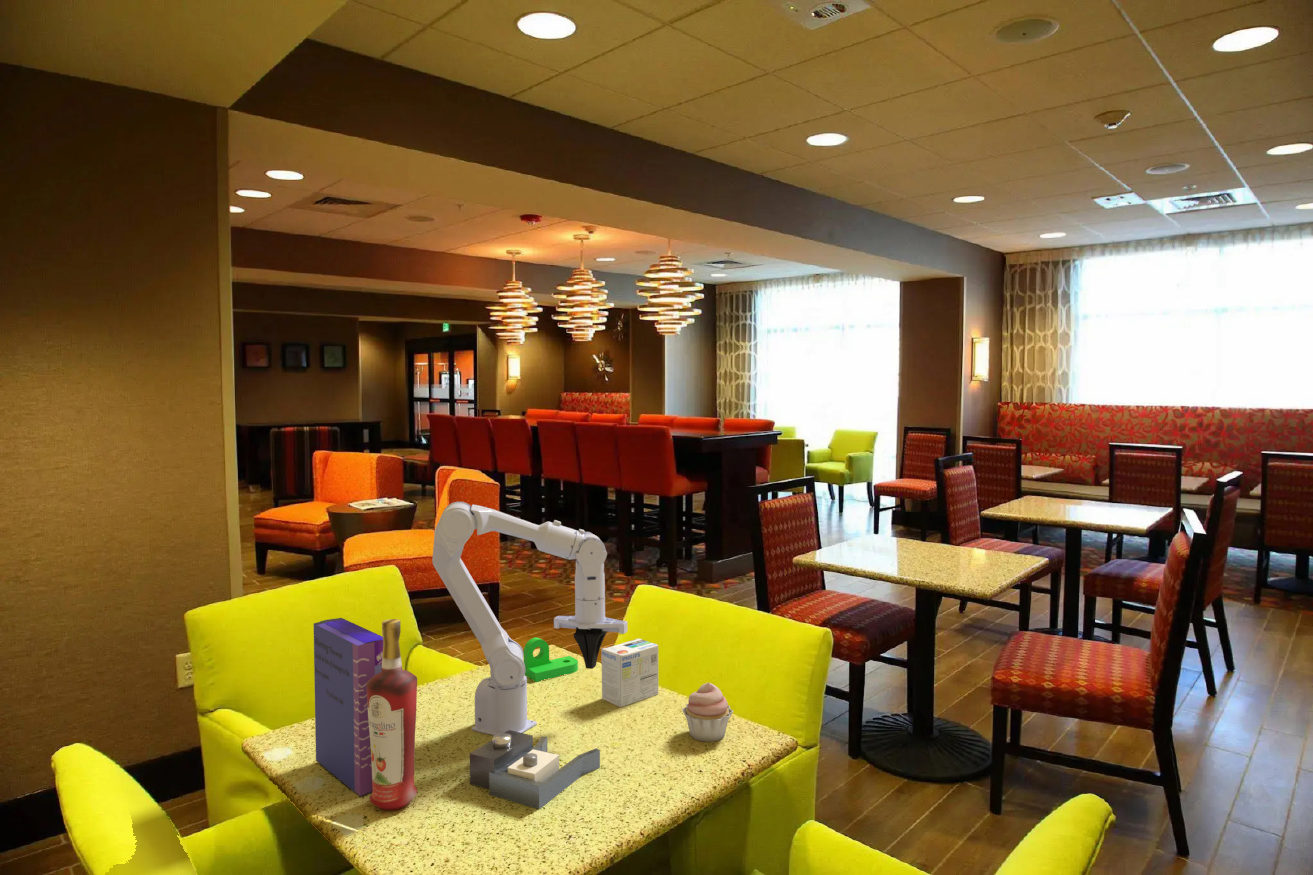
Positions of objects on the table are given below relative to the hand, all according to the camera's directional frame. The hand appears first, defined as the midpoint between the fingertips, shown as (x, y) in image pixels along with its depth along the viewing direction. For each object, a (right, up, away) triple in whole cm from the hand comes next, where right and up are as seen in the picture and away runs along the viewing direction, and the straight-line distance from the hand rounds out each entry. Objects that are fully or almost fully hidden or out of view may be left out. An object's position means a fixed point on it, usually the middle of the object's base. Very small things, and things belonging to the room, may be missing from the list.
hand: (591, 667), depth 146 cm
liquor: (-28, -12, -30) cm, 43 cm away
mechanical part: (-11, -10, +27) cm, 31 cm away
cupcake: (+22, -11, -7) cm, 26 cm away
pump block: (-7, -12, -26) cm, 29 cm away
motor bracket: (-7, -11, -22) cm, 26 cm away
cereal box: (-38, -12, -21) cm, 45 cm away
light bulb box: (+7, -10, +12) cm, 18 cm away
